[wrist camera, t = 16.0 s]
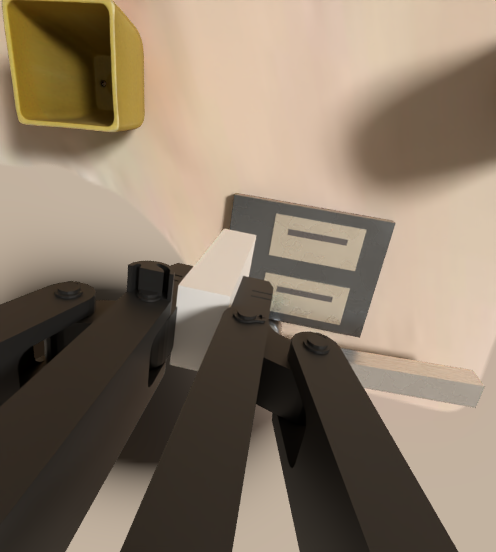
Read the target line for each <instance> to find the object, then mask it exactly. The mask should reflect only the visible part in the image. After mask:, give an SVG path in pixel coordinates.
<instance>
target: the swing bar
mask: <svg viewBox="0 0 496 552" xmlns="http://www.w3.org/2000/svg"><path fill="white" fill-rule="evenodd" d="M341 350H342V351H343V353H344V355H345V357H346V358H347V360H348V362H349V364H350V365H351V367H352V369H353V371H354V372H355V374H356V376H357V377H358V379H359V381H360V383H361V384H362V386H363V388H367V389H372V390H378V391H384V392H389V393H395V394H401V395H406V396H412V397H417V398H423V399H429V400H434V401H440V402H445V403H451V404H457V405H462V406H468V407H474V408H476V406H477V403H478V401H479V399H480V396H481V394H482V392H483V389H484V387H485V386H484V385H483V383H482V382H481V381H480V379H479V378H478V376H477V375H476V374H475V372H474V371H473V370H469V369H463V368H457V367H451V366H445V365H439V364H433V363H427V362H421V361H415V360H409V359H403V358H397V357H391V356H385V355H379V354H373V353H367V352H361V351H355V350H349V349H343V348H341Z"/></svg>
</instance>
